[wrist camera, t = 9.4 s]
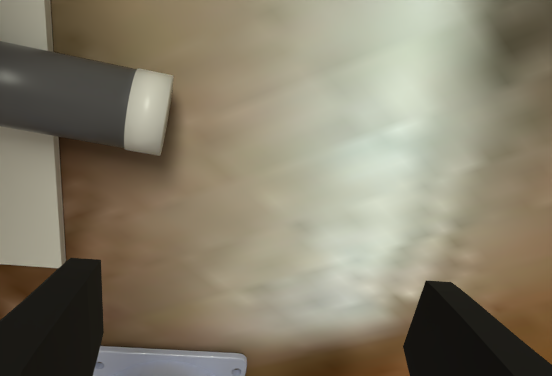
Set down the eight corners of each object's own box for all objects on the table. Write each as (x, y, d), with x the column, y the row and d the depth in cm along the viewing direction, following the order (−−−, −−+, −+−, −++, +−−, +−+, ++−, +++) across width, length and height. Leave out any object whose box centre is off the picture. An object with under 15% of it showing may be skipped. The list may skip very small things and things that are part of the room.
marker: (-119, 88, 17) (165, 140, 19) (-178, 111, 15) (156, 168, 17) (-126, 4, 16) (176, 67, 18) (-192, 12, 14) (168, 86, 16)
